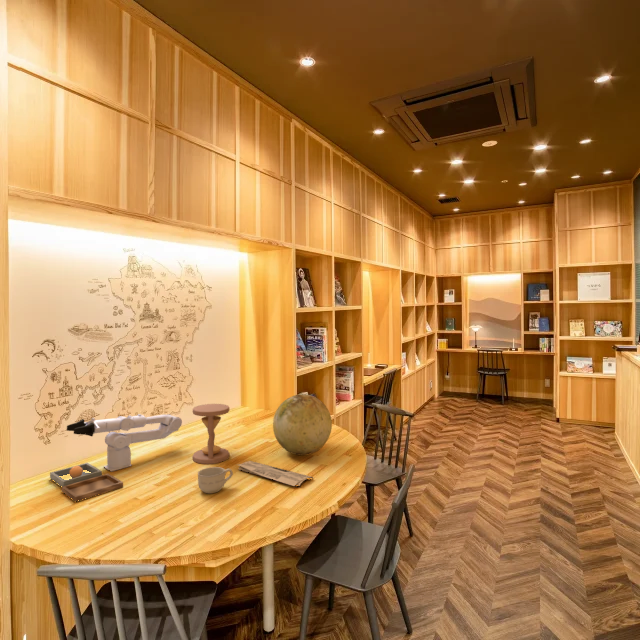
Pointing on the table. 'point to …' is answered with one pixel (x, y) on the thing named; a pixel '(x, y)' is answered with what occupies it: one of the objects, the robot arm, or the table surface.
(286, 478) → the newspaper
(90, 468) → the dish
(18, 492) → the table surface
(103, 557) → the table surface
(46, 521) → the table surface
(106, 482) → the tray
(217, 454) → the hourglass
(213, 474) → the teacup
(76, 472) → the ball
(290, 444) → the olive sphere
